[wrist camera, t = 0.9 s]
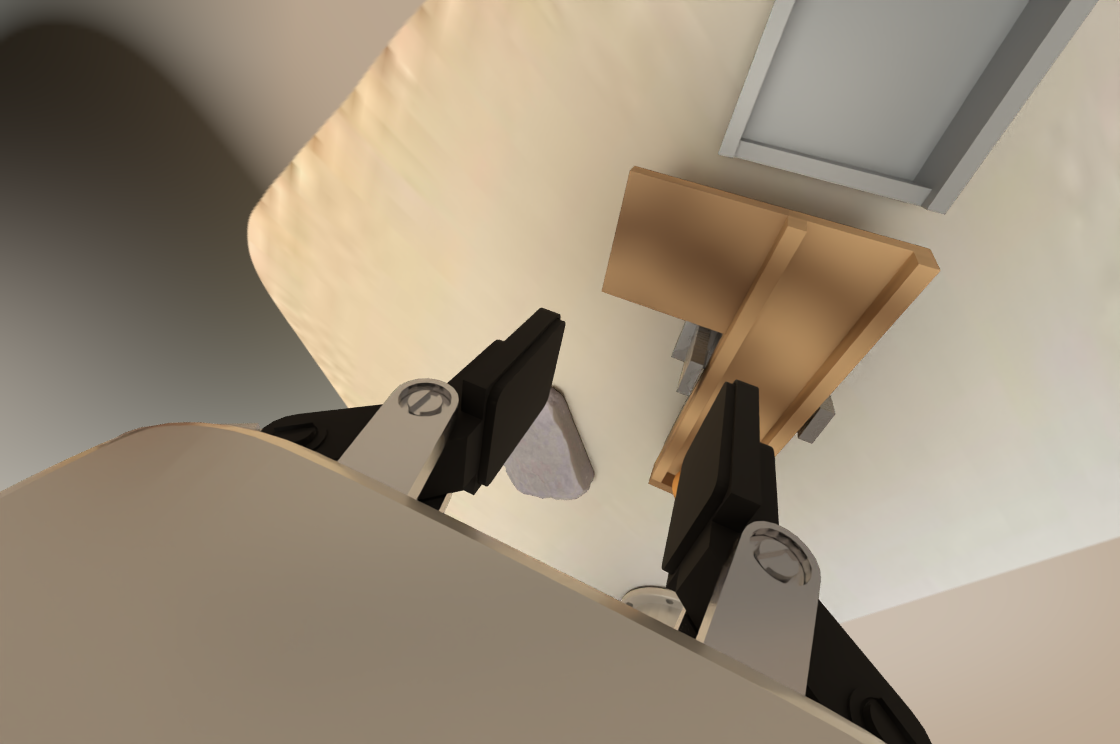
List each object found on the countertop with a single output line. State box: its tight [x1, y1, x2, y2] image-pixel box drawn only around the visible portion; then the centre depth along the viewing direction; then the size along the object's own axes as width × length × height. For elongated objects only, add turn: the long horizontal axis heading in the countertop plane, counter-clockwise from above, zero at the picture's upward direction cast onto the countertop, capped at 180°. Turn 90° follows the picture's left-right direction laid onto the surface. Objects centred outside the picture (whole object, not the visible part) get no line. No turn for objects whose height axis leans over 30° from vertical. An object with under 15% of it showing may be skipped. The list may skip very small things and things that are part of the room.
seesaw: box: [602, 166, 940, 494], centre depth 27 cm, size 22×14×4 cm, turn 168°
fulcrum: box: [671, 321, 835, 443], centre depth 28 cm, size 6×10×8 cm, turn 78°
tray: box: [718, 0, 1099, 214], centre depth 19 cm, size 11×11×6 cm
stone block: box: [504, 387, 594, 500], centre depth 43 cm, size 12×5×10 cm
